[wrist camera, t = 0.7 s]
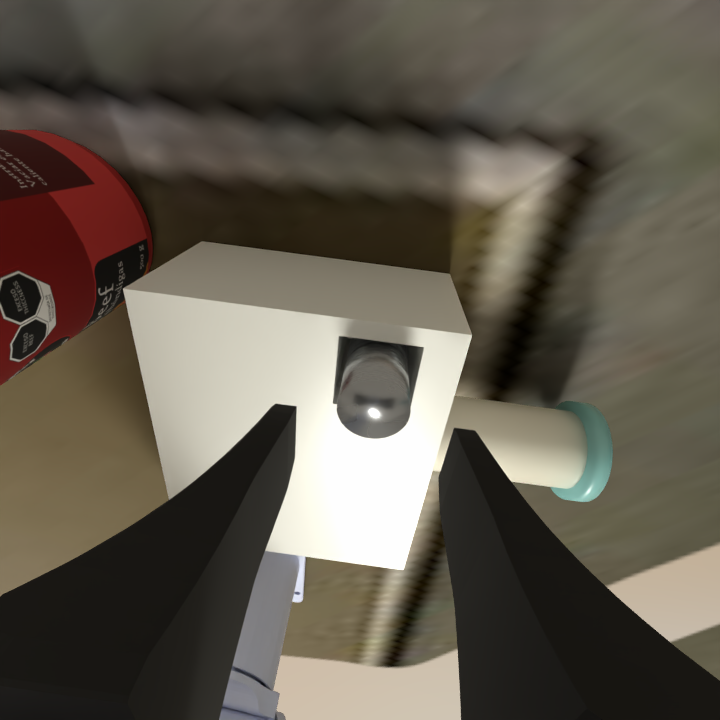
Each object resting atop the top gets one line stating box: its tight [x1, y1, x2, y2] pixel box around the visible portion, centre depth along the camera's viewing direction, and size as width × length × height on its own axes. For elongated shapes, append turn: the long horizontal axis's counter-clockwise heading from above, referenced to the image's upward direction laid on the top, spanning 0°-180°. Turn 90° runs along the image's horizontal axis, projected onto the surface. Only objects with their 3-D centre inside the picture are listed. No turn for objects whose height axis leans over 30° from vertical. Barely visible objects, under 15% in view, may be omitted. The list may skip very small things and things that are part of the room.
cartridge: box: [433, 396, 613, 502], centre depth 19 cm, size 5×17×5 cm, turn 84°
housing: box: [123, 241, 472, 570], centre depth 20 cm, size 14×12×6 cm
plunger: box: [337, 338, 411, 439], centre depth 14 cm, size 2×2×4 cm
